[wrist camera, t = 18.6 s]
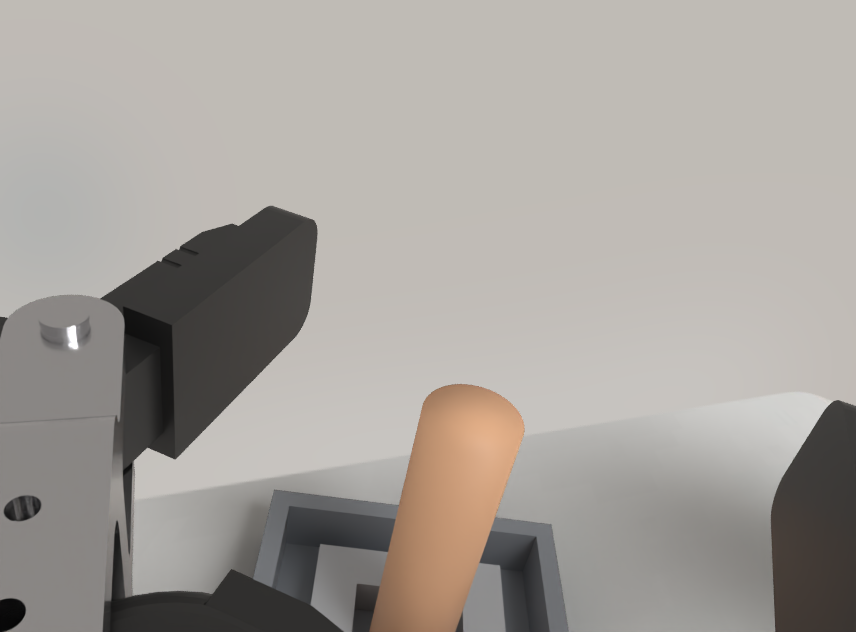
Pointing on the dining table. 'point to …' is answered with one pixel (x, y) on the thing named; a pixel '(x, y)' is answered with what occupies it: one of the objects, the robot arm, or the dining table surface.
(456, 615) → the peg
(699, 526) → the dining table surface
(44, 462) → the robot arm
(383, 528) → the box
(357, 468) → the dining table surface
